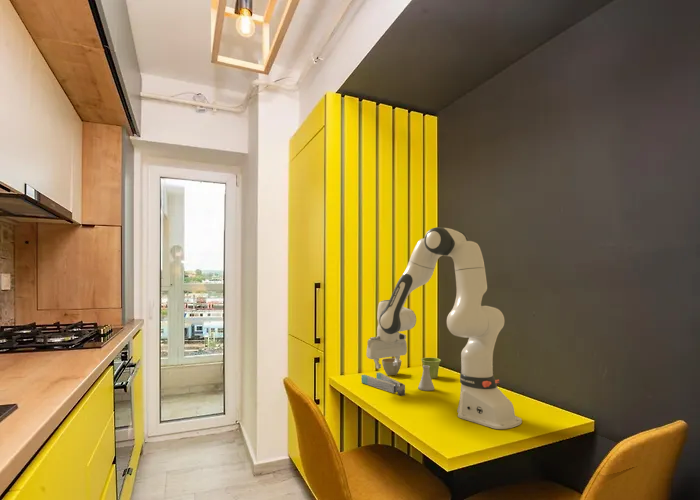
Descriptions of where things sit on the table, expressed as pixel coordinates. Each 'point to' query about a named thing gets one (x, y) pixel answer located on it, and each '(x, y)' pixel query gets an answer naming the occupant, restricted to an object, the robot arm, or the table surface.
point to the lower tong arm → (387, 379)
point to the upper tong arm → (379, 383)
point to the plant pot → (432, 366)
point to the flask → (426, 380)
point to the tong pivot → (401, 389)
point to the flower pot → (391, 366)
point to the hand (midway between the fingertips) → (386, 366)
